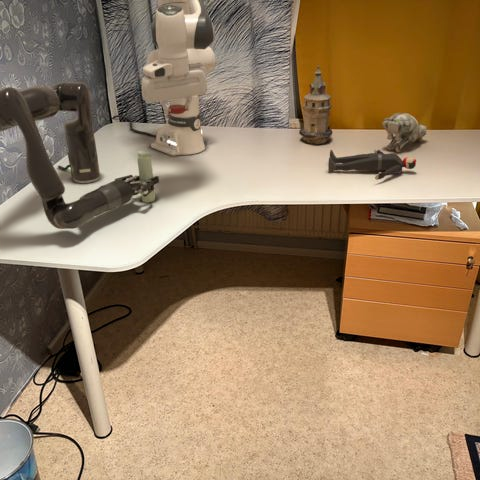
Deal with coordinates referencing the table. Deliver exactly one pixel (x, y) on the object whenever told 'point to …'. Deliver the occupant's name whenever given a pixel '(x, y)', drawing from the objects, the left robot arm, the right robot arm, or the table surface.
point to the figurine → (403, 130)
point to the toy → (371, 163)
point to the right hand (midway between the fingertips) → (177, 112)
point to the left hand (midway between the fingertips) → (152, 177)
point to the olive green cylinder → (145, 172)
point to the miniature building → (316, 112)
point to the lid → (177, 109)
